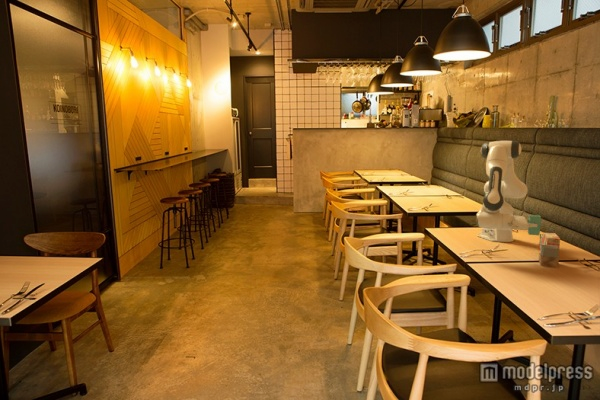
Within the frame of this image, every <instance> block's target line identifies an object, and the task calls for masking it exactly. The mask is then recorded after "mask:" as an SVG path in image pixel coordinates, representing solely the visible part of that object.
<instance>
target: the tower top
mask: <svg viewBox="0 0 600 400" xmlns="http://www.w3.org/2000/svg"><path fill="white" fill-rule="evenodd" d="M559 252H560V247H559V248H558V247H557V246H555V245H542V244H541V251H540V253H541V255H542V256H543V257H550V258H559V256H558V254H559Z"/></svg>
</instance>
